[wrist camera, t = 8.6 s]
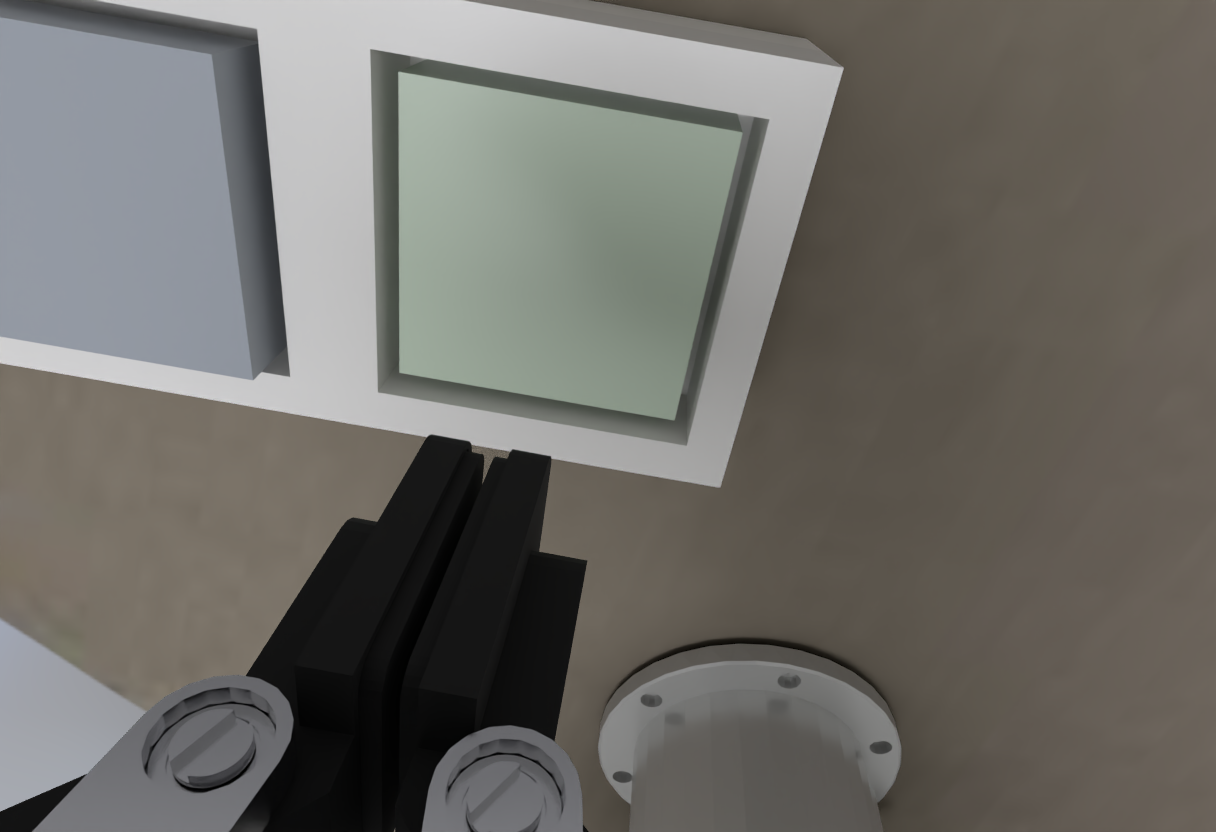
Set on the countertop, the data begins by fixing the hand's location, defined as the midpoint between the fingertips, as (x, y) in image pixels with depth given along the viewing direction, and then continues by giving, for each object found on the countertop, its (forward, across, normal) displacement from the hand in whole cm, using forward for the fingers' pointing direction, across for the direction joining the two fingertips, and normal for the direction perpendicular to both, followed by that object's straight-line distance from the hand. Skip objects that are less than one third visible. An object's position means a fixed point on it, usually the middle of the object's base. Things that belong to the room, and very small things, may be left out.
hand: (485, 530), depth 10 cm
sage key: (+10, +1, -1) cm, 10 cm away
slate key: (+8, +11, -1) cm, 14 cm away
